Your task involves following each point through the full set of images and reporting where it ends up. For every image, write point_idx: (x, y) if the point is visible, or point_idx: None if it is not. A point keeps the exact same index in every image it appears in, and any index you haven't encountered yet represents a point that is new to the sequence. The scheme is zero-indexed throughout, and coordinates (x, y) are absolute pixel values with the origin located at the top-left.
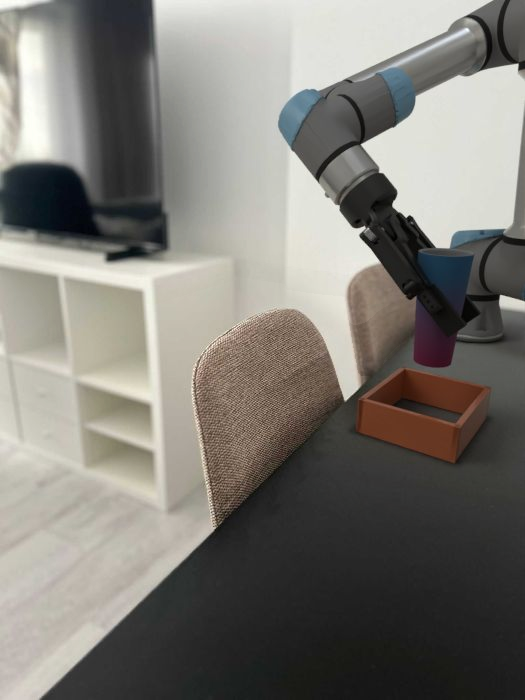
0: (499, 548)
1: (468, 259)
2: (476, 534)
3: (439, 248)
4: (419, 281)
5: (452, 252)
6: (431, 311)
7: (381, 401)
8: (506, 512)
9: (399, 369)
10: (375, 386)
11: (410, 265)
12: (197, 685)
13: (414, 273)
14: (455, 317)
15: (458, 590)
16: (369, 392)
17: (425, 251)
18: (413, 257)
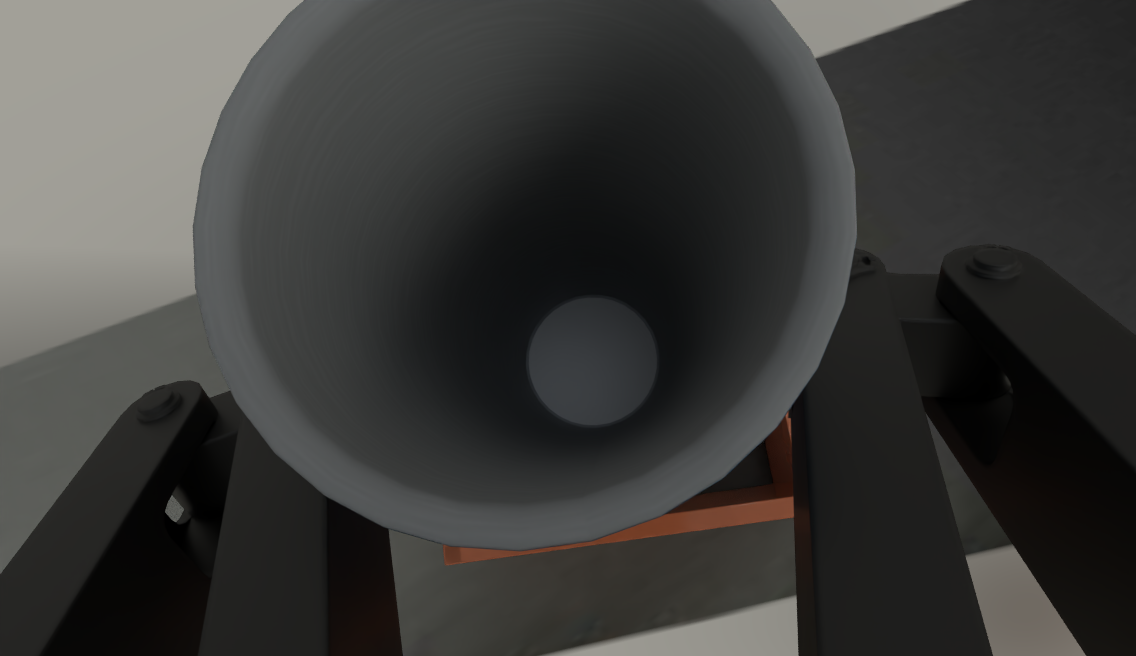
0: (950, 39)
1: None
2: (947, 82)
3: (271, 406)
4: (1008, 249)
5: (252, 264)
6: None
7: None
8: (830, 76)
9: (480, 555)
10: (689, 530)
11: (1045, 372)
12: None
13: (1028, 306)
14: None
15: (1117, 37)
16: (750, 516)
17: (471, 503)
18: (837, 471)
